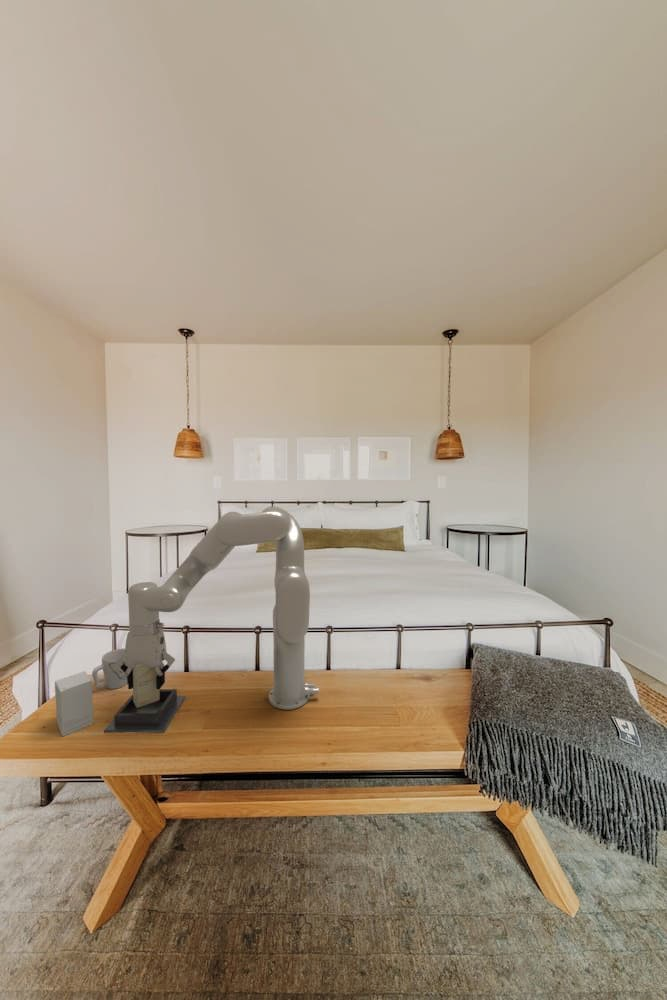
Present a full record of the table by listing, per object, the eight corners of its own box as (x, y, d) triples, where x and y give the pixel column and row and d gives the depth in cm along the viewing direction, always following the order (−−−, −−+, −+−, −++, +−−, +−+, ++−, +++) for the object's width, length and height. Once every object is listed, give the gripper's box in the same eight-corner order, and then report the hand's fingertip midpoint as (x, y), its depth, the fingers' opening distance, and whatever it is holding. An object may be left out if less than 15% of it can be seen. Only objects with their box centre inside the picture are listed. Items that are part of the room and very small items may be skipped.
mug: (99, 699, 113) (97, 668, 112) (88, 689, 118) (86, 659, 117) (137, 682, 122) (136, 653, 121) (125, 673, 127) (124, 645, 127)
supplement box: (94, 724, 102) (92, 680, 101) (61, 737, 97) (59, 692, 96) (87, 711, 108) (85, 670, 107) (56, 723, 102) (53, 680, 101)
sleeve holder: (185, 698, 114) (185, 686, 114) (163, 732, 99) (163, 719, 99) (133, 698, 114) (133, 686, 114) (104, 732, 99) (103, 719, 99)
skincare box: (136, 708, 102) (135, 667, 101) (132, 701, 106) (131, 660, 105) (160, 699, 107) (159, 659, 106) (156, 692, 110) (155, 653, 109)
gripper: (180, 621, 108) (182, 679, 110) (121, 621, 108) (123, 679, 109) (169, 633, 101) (171, 694, 102) (105, 632, 101) (108, 694, 102)
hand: (146, 686), depth 106 cm, fingers closed on skincare box, 7 cm apart
